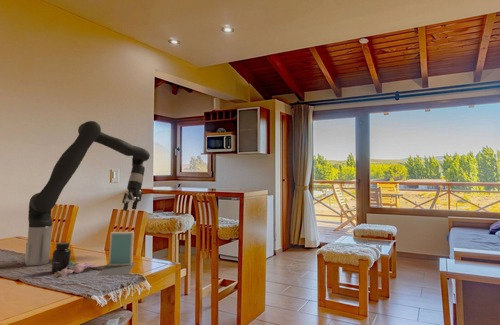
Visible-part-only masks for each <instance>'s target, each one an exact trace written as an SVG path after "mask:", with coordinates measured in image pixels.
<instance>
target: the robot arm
mask: <svg viewBox="0 0 500 325" xmlns="http://www.w3.org/2000/svg"><path fill="white" fill-rule="evenodd" d="M77 130H78V131H77V133H78V135H77V137H76V139H75V140H74V141H73V143H71V144H70V146H69V147H68V148H67V149H65V151H64V152H63V153H62V154H61V156H60V157H59V158H58V160H57V161H56V163H55V165H54V166H53V168H52V172H51V174H50V177H49V179H48V181H47V183H46V184H45V185H44V187H43V188H42V190H40V192H37V193H35V194H33V195H32V196H31V197H30V200H29V203H28V215H27V216H28V217H27V219H28V220H27V221H28V228H27V229H28V231H27V242H26V244H25V254H24V255H25V258H24V264H25V265H26V266H27V267H28V266H42V265H47V264H49V263H50V257H51V256H50V255H51V254H50V253H51V242H52V241H51V240H52V228H53V220H52V210H53V208H54V207H55V206H56V205H57V204H56V203H57V202H58V199H59V197H60V195H61V194H62V192H63V190H64V188H65V187H66V185H68V183H69V181H70V179H71V178H72V177H73V176H74V174H75V173H76V172H77V169H78V168H79V167H80V165H81V162H82V161H83V159H84V157H85V156H86V154H87V152H88V150H89V148H90V147H91V146H92V145H93V143H97V144H100V145H102V146H105V147H107V148H109V149H112V150H114V151H115V152H118V153H120V154H122V155H125V157H126V156H127V157H132V158H131V159H132V160H131V162H132V163H131V165H132V166H131V171H130V176H129V178H128V181H127V186H126V189H127V192H124V194H123V197H122V202H121V203H122V204H123V208H122V211H123V212H127V211H128V209H129V205H130V203H131V202H132V201H133V202H132V206H131V208H132V210H134V211H135V210H137V207H138V203H139V202H141V200H142V195H143V191H142V188H143V187H142V186H143V182H144V175H145V172H146V171H145V166H144V162H147V161H148V160H149V159H150V156H151V155H150V152H149V151H148V150H147V149H145V148H142V147H140V146H136V145H133V144H130V143H129V142H127V141H125V140H123V139H121V138H118V137H114V136H112V135H109V134H107V133H104V132H102V130H101V124H99V122H97V121H94V120H88V121H86V122H83V123H82V124H80V125H79V127H78V129H77Z"/></svg>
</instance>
